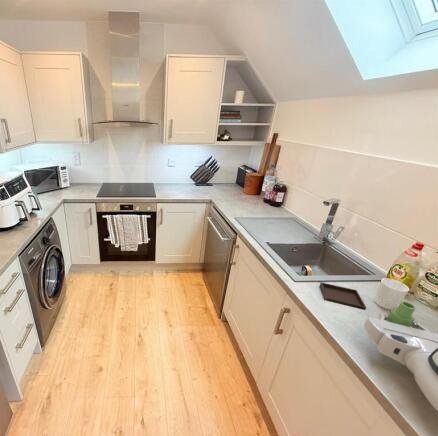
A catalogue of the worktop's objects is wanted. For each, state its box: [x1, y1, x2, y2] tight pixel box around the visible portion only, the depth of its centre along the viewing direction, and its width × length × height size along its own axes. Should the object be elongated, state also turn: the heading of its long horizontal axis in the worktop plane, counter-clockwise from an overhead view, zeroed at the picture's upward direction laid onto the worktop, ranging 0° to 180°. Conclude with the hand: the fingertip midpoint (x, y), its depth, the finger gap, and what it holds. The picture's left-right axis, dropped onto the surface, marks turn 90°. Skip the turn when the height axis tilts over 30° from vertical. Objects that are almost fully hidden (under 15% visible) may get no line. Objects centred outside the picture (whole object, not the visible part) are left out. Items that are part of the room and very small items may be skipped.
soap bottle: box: [387, 300, 416, 328], centre depth 76 cm, size 5×5×17 cm
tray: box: [318, 282, 367, 311], centre depth 99 cm, size 13×11×2 cm
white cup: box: [373, 277, 410, 311], centre depth 95 cm, size 8×8×10 cm
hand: (397, 319), depth 77 cm, fingers open, 7 cm apart
